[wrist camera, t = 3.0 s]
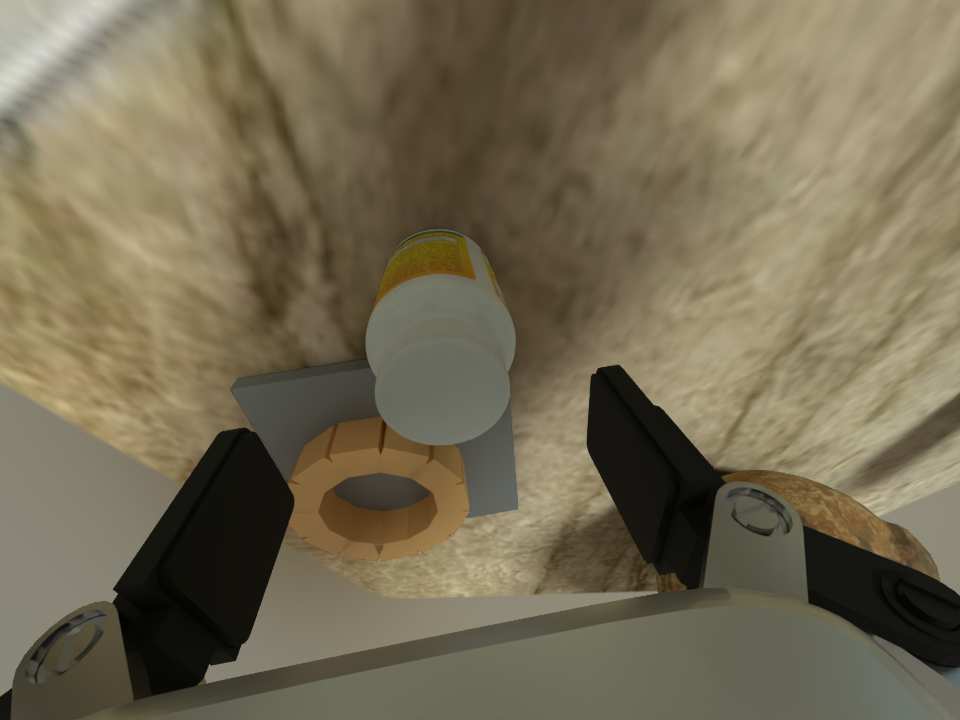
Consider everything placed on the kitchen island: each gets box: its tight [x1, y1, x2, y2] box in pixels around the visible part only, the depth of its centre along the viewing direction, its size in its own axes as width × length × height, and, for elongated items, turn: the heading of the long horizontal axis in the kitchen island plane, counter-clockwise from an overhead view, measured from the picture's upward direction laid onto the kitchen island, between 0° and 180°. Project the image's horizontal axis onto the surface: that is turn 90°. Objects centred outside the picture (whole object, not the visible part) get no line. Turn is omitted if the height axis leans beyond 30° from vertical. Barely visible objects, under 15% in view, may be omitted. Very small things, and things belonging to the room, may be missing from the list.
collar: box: [288, 416, 470, 561], centre depth 24 cm, size 11×11×2 cm
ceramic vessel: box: [656, 470, 940, 593], centre depth 22 cm, size 17×26×25 cm, turn 36°
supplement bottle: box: [365, 229, 516, 445], centre depth 15 cm, size 5×5×10 cm
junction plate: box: [230, 359, 518, 518], centre depth 25 cm, size 15×15×1 cm
